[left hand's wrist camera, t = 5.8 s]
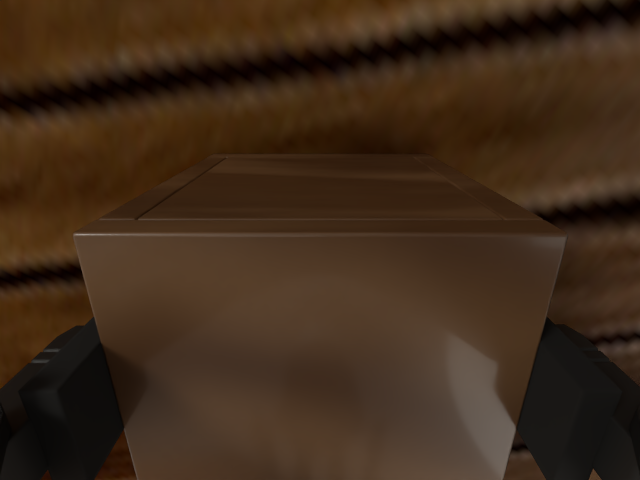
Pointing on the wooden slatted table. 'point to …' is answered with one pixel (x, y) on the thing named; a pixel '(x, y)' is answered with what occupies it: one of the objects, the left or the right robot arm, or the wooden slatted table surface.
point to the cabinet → (320, 318)
